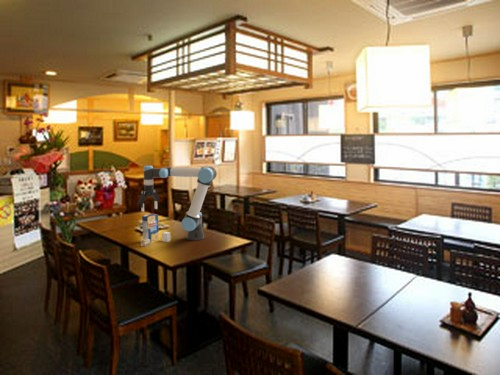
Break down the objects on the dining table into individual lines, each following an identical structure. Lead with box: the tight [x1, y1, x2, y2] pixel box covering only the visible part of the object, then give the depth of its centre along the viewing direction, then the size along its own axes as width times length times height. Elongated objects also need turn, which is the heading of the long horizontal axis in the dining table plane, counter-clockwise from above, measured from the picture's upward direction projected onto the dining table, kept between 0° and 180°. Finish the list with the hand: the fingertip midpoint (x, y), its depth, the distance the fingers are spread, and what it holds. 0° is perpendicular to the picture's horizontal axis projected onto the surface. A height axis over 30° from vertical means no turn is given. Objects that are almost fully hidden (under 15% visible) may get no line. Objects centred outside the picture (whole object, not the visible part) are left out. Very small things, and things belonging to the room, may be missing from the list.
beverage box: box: [141, 213, 160, 244], centre depth 305 cm, size 7×11×22 cm, turn 146°
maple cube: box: [140, 238, 151, 248], centre depth 293 cm, size 5×5×5 cm
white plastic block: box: [161, 231, 172, 243], centre depth 307 cm, size 5×5×7 cm
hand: (149, 210), depth 303 cm, fingers open, 13 cm apart
